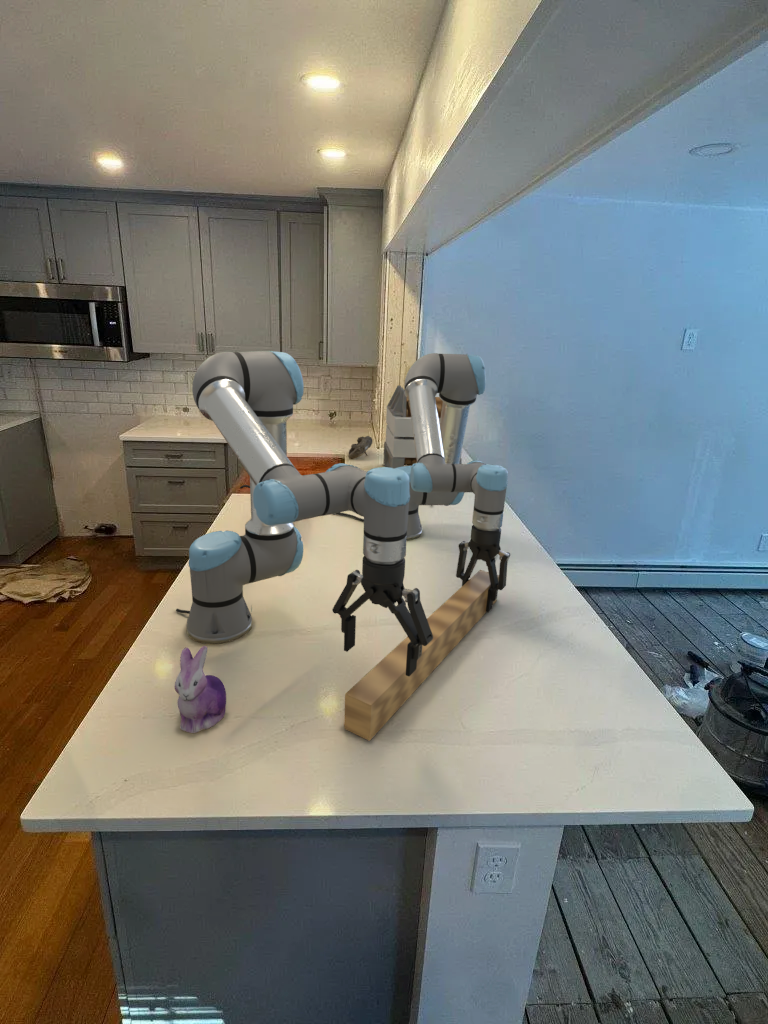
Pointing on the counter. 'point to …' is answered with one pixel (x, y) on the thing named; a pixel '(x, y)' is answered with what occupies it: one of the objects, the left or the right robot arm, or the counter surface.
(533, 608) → the counter surface
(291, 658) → the counter surface
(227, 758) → the counter surface
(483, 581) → the beam
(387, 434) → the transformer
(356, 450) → the fossil
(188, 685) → the figurine
